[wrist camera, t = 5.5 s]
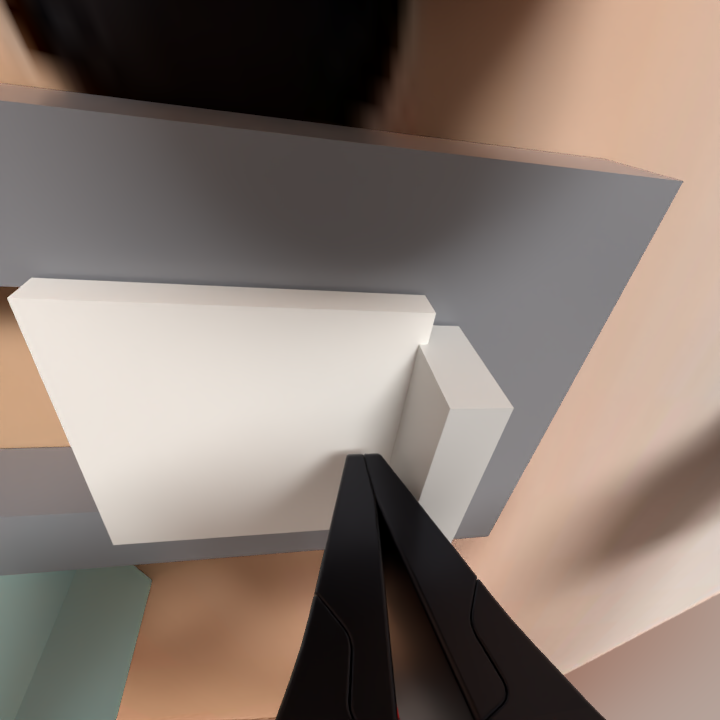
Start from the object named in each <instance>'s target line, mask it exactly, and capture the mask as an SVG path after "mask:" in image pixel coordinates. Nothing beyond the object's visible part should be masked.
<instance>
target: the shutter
mask: <svg viewBox="0 0 720 720" xmlns="http://www.w3.org/2000/svg"><path fill="white" fill-rule="evenodd" d="M7 299H8V302H9V304H10V306H11V309H12V311H13V313H14V316H15V318H16V320H17V322H18V325H19V327H20V329H21V332H22V334H23V336H24V339H25V341H26V343H27V346H28V348H29V350H30V353H31V355H32V357H33V360H34V362H35V364H36V367H37V369H38V371H39V374H40V376H41V378H42V381H43V383H44V385H45V387H46V390H47V392H48V394H49V397H50V399H51V401H52V404H53V406H54V408H55V411H56V413H57V415H58V418H59V420H60V422H61V425H62V427H63V429H64V432H65V434H66V436H67V439H68V441H69V443H70V445H71V448H72V450H73V452H74V455H75V457H76V459H77V462H78V464H79V466H80V469H81V471H82V473H83V476H84V478H85V480H86V483H87V485H88V487H89V490H90V492H91V494H92V497H93V499H94V501H95V504H96V506H97V508H98V510H99V513H100V515H101V517H102V520H103V522H104V524H105V527H106V529H107V531H108V534H109V536H110V538H111V541H112V543H113V545H122V544H136V543H150V542H164V541H178V540H192V539H206V538H220V537H234V536H248V535H262V534H276V533H290V532H304V531H318V530H329V528H330V524H331V520H332V515H333V511H334V507H335V503H336V498H337V494H338V490H339V485H340V481H341V477H342V472H343V468H344V464H345V460H346V456H347V455H348V454H369V453H378V454H380V455H382V457H383V458H384V459H385V460H386V462H387V463H388V464H389V466H390V467H391V468H392V469H393V471H394V472H395V473H396V474H397V476H398V477H399V478H400V479H401V481H402V482H403V483H404V485H405V486H406V487H407V488H408V490H409V491H410V492H411V493H412V495H413V496H414V497H415V499H416V500H417V501H418V502H419V504H420V505H421V506H422V507H423V509H424V510H425V511H426V512H427V514H428V515H429V516H430V518H431V519H432V520H433V521H434V523H435V524H436V525H437V526H438V528H439V529H440V530H441V532H442V533H443V534H444V535H445V537H446V538H447V539H448V540H449V542H450V543H452V541H453V538H454V536H455V534H456V532H457V530H458V528H459V525H460V523H461V521H462V519H463V517H464V515H465V512H466V510H467V508H468V506H469V504H470V502H471V499H472V497H473V495H474V493H475V491H476V489H477V487H478V484H479V482H480V480H481V478H482V476H483V474H484V471H485V469H486V467H487V465H488V463H489V461H490V458H491V456H492V454H493V452H494V450H495V448H496V445H497V443H498V441H499V439H500V437H501V435H502V432H503V430H504V428H505V426H506V424H507V422H508V420H509V417H510V415H511V413H512V411H513V409H514V408H513V406H512V405H511V403H510V402H509V400H508V399H507V397H506V396H505V394H504V393H503V391H502V390H501V388H500V387H499V385H498V384H497V382H496V381H495V379H494V378H493V376H492V375H491V373H490V372H489V370H488V369H487V367H486V366H485V364H484V363H483V361H482V360H481V358H480V357H479V355H478V354H477V352H476V351H475V350H474V348H473V347H472V345H471V344H470V342H469V341H468V339H467V338H466V336H465V335H464V333H463V332H462V330H461V329H460V327H459V326H437V325H433V323H434V319H435V315H436V312H435V311H434V309H433V308H432V306H431V304H430V303H429V301H428V299H427V298H426V296H425V295H409V294H387V293H364V292H342V291H319V290H297V289H275V288H252V287H230V286H208V285H185V284H163V283H140V282H118V281H96V280H73V279H51V278H31V279H29V280H28V281H27V282H26V283H25V284H23V285H22V286H21V287H20V288H18V289H17V290H16V291H15V292H14V293H12V294H11V295H10V296H9V297H8V298H7Z"/></svg>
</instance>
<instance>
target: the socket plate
mask: <svg viewBox="0 0 720 720" xmlns="http://www.w3.org/2000/svg"><path fill="white" fill-rule="evenodd" d="M682 183H683V181H681V180H677V179H674V178H670V177H667V176H663V175H660V174H656V173H653V172H649V171H645V170H642V169H638V168H635V167H631V166H628V165H624V164H621V163H617V162H614V161H610V160H607V159H601V158H593V157H585V156H577V155H569V154H561V153H554V152H546V151H538V150H530V149H522V148H514V147H506V146H498V145H490V144H482V143H474V142H466V141H458V140H450V139H442V138H434V137H426V136H418V135H410V134H402V133H394V132H386V131H378V130H370V129H362V128H354V127H346V126H339V125H331V124H323V123H315V122H307V121H299V120H291V119H283V118H275V117H267V116H259V115H251V114H243V113H235V112H227V111H219V110H211V109H203V108H195V107H187V106H179V105H171V104H163V103H155V102H147V101H139V100H132V99H124V98H116V97H108V96H100V95H92V94H84V93H76V92H68V91H60V90H52V89H44V88H36V87H28V86H20V85H12V84H4V83H0V286H6V287H21V286H22V285H23V284H25V283H26V282H27V281H28V280H29V279H31V278H51V279H73V280H96V281H118V282H140V283H163V284H185V285H208V286H230V287H252V288H275V289H297V290H319V291H342V292H364V293H387V294H409V295H425V296H426V298H427V299H428V301H429V303H430V304H431V306H432V308H433V309H434V311H435V312H436V315H435V319H434V323H433V325H437V326H459V327H460V329H461V330H462V332H463V333H464V335H465V336H466V338H467V339H468V341H469V342H470V344H471V345H472V347H473V348H474V350H475V351H476V352H477V354H478V355H479V357H480V358H481V360H482V361H483V363H484V364H485V366H486V367H487V369H488V370H489V372H490V373H491V375H492V376H493V378H494V379H495V381H496V382H497V384H498V385H499V387H500V388H501V390H502V391H503V393H504V394H505V396H506V397H507V399H508V400H509V402H510V403H511V405H512V406H513V408H514V409H513V411H512V413H511V415H510V417H509V420H508V422H507V424H506V426H505V428H504V430H503V432H502V435H501V437H500V439H499V441H498V443H497V445H496V448H495V450H494V452H493V454H492V456H491V458H490V461H489V463H488V465H487V467H486V469H485V471H484V474H483V476H482V478H481V480H480V482H479V484H478V487H477V489H476V491H475V493H474V495H473V497H472V499H471V502H470V504H469V506H468V508H467V510H466V512H465V515H464V517H463V519H462V521H461V523H460V525H459V528H458V530H457V532H456V534H455V536H454V538H453V539H462V538H474V537H486V536H489V534H490V532H491V530H492V528H493V526H494V525H495V523H496V521H497V519H498V517H499V516H500V514H501V512H502V510H503V508H504V506H505V505H506V503H507V501H508V499H509V497H510V496H511V494H512V492H513V490H514V488H515V486H516V485H517V483H518V481H519V479H520V477H521V475H522V474H523V472H524V470H525V468H526V466H527V465H528V463H529V461H530V459H531V457H532V455H533V454H534V452H535V450H536V448H537V446H538V445H539V443H540V441H541V439H542V437H543V435H544V434H545V432H546V430H547V428H548V426H549V425H550V423H551V421H552V419H553V417H554V415H555V414H556V412H557V410H558V408H559V406H560V405H561V403H562V401H563V399H564V397H565V395H566V394H567V392H568V390H569V388H570V386H571V385H572V383H573V381H574V379H575V377H576V375H577V374H578V372H579V370H580V368H581V366H582V365H583V363H584V361H585V359H586V357H587V355H588V354H589V352H590V350H591V348H592V346H593V345H594V343H595V341H596V339H597V337H598V335H599V334H600V332H601V330H602V328H603V326H604V325H605V323H606V321H607V319H608V317H609V315H610V314H611V312H612V310H613V308H614V306H615V305H616V303H617V301H618V299H619V297H620V295H621V294H622V292H623V290H624V288H625V286H626V284H627V283H628V281H629V279H630V277H631V275H632V274H633V272H634V270H635V268H636V266H637V264H638V263H639V261H640V259H641V257H642V255H643V254H644V252H645V250H646V248H647V246H648V244H649V243H650V241H651V239H652V237H653V235H654V234H655V232H656V230H657V228H658V226H659V224H660V223H661V221H662V219H663V217H664V215H665V214H666V212H667V210H668V208H669V206H670V204H671V203H672V201H673V199H674V197H675V195H676V194H677V192H678V190H679V188H680V186H681V184H682ZM328 533H329V530H318V531H304V532H290V533H276V534H262V535H248V536H234V537H220V538H206V539H192V540H178V541H164V542H150V543H136V544H122V545H113V543H112V541H111V538H110V536H109V534H108V531H107V529H106V527H105V524H104V522H103V520H102V517H101V515H100V513H99V510H98V508H97V506H96V504H95V501H94V499H93V497H92V494H91V492H90V490H89V487H88V485H87V483H86V480H85V478H84V476H83V473H82V471H81V469H80V466H79V464H78V462H77V459H76V457H75V455H74V452H73V450H72V448H71V447H48V448H12V449H0V576H3V575H16V574H28V573H40V572H53V571H65V570H77V569H90V568H102V567H115V566H127V565H139V564H152V563H164V562H177V561H189V560H201V559H214V558H226V557H239V556H251V555H263V554H276V553H288V552H300V551H313V550H325V545H326V541H327V537H328Z"/></svg>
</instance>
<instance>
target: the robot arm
mask: <svg viewBox="0 0 720 720" xmlns="http://www.w3.org/2000/svg"><path fill="white" fill-rule="evenodd" d="M397 708H398V712H397ZM398 713H399V718H400V720H606V719H605V718H604V717H603V716H602V715H601V714H600V713H599V712H598V711H597V710H596V709H595V708H594V707H593V706H592V705H591V704H590V703H589V702H588V701H587V700H586V699H585V698H584V697H583V696H582V695H581V693H580V692H579V691H578V690H577V689H576V688H575V687H574V686H573V685H572V684H571V683H570V682H569V681H568V680H567V679H566V678H565V676H564V675H563V674H562V673H561V672H560V671H559V670H558V669H557V668H556V667H555V666H554V665H553V664H552V663H551V662H550V661H549V659H548V658H547V657H546V656H545V655H544V654H543V653H542V652H541V651H540V650H539V649H538V648H537V647H536V646H535V645H534V643H533V642H532V641H531V640H530V639H529V638H528V637H527V636H526V635H525V634H524V632H523V631H522V630H521V629H520V628H519V627H518V626H517V625H516V624H515V622H514V621H513V620H512V619H511V618H510V617H509V615H508V614H507V613H506V612H505V611H504V609H503V608H502V607H501V606H500V605H499V603H498V602H497V601H496V600H495V599H494V597H493V596H492V595H491V594H490V592H489V591H488V590H487V588H486V587H485V586H484V585H483V583H482V582H481V581H480V580H479V579H478V580H477V576H476V575H475V573H474V572H473V571H472V570H471V568H470V567H469V566H468V565H467V563H466V562H465V561H464V559H463V558H462V557H461V556H460V554H459V553H458V552H457V551H456V549H455V548H454V547H453V545H452V544H451V543H450V542H449V540H448V539H447V538H446V537H445V535H444V534H443V533H442V532H441V530H440V529H439V528H438V526H437V525H436V524H435V523H434V521H433V520H432V519H431V518H430V516H429V515H428V514H427V512H426V511H425V510H424V509H423V507H422V506H421V505H420V504H419V502H418V501H417V500H416V499H415V497H414V496H413V495H412V493H411V492H410V491H409V490H408V488H407V487H406V486H405V485H404V483H403V482H402V481H401V479H400V478H399V477H398V476H397V474H396V473H395V472H394V471H393V469H392V468H391V467H390V466H389V464H388V463H387V462H386V460H385V459H384V458H383V457H382V455H380V454H378V453H369V454H348V455H347V456H346V460H345V464H344V468H343V472H342V477H341V481H340V485H339V490H338V494H337V498H336V503H335V507H334V511H333V515H332V520H331V524H330V528H329V533H328V537H327V541H326V545H325V550H324V554H323V558H322V563H321V567H320V571H319V576H318V580H317V584H316V588H315V593H314V597H313V600H312V605H311V609H310V613H309V618H308V621H307V625H306V629H305V633H304V636H303V640H302V644H301V647H300V650H299V653H298V656H297V659H296V662H295V665H294V669H293V672H292V675H291V678H290V681H289V683H288V686H287V689H286V692H285V694H284V697H283V700H282V703H281V705H280V708H279V711H278V714H277V717H276V719H275V720H398Z"/></svg>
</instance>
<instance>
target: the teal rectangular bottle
mask: <svg viewBox="0 0 720 720" xmlns="http://www.w3.org/2000/svg"><path fill="white" fill-rule="evenodd" d="M151 583H152V580H151V579H150V578H149V577H147V576H146V575H145V574H144V573H143V572H141V571H140V570H139V569H138V568H137V567H135V566H134V565H127V566H115V567H102V568H90V569H77V570H65V571H53V572H40V573H28V574H16V575H3V576H0V720H116V718H117V714H118V711H119V707H120V703H121V699H122V695H123V691H124V687H125V684H126V680H127V676H128V672H129V668H130V664H131V660H132V657H133V653H134V649H135V645H136V641H137V637H138V633H139V630H140V626H141V622H142V618H143V614H144V610H145V606H146V603H147V599H148V595H149V591H150V587H151Z"/></svg>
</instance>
